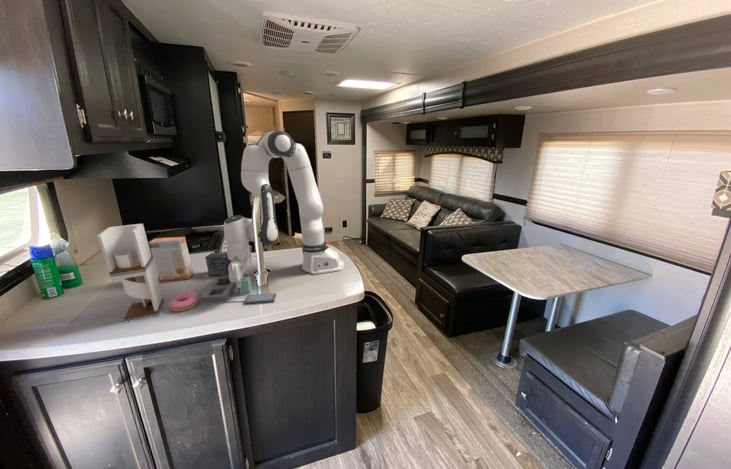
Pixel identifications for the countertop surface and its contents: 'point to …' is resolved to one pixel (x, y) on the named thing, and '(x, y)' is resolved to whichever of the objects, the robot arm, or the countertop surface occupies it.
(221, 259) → the small box
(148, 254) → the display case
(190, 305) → the doughnut
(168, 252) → the cracker box
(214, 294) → the gray block with holes
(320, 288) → the countertop surface
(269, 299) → the spatula
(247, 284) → the block
